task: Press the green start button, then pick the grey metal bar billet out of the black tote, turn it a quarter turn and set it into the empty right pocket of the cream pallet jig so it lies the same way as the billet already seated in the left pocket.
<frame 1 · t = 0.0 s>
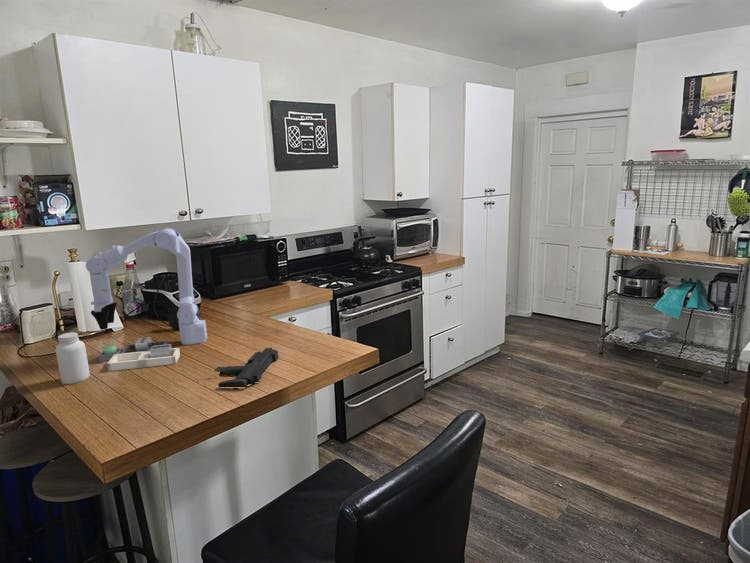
hand: (107, 325, 177), 10 cm above the worktop, tool pointing down, fingers open, 7 cm apart
rock: (185, 329, 204), on the worktop
pill bottle: (76, 380, 156), on the worktop
start button: (110, 350, 171), point 3 cm above the worktop, slide at 0.0 cm
tote: (145, 354, 176), on the worktop
billet: (144, 353, 176), resting on tote
pallet jig: (145, 365, 166), on the worktop
button housing: (111, 360, 172), on the worktop
firearm: (240, 370, 160), on the worktop
seated billet: (162, 360, 167), point 1 cm above the worktop, touching pallet jig
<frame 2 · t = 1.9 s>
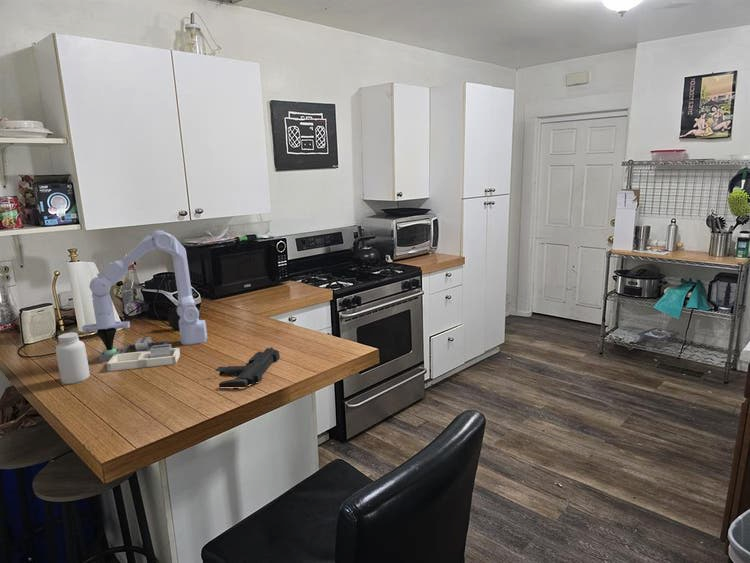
hand: (110, 349, 171), 4 cm above the worktop, tool pointing down, fingers closed, pressing on start button
start button: (110, 353, 171), point 3 cm above the worktop, slide at 0.9 cm, touching gripper
everything else where it was.
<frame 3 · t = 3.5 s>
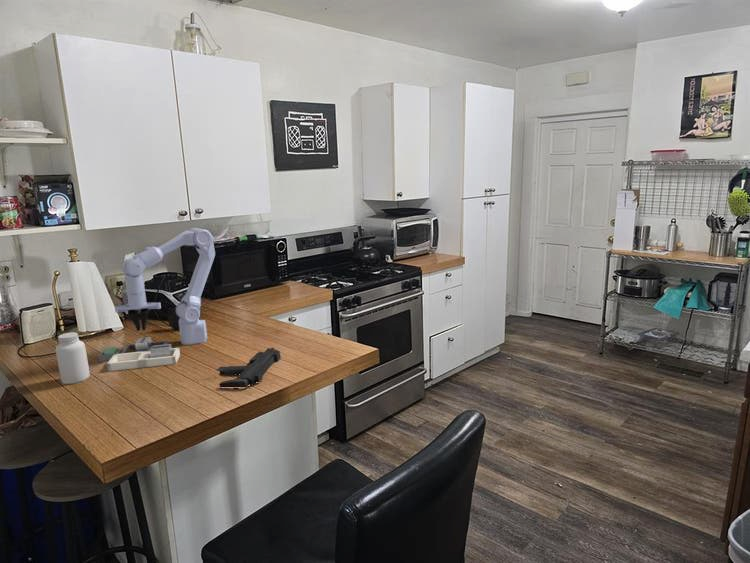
hand: (141, 329, 174), 9 cm above the worktop, tool pointing down, fingers closed
start button: (110, 353, 171), point 3 cm above the worktop, slide at 0.9 cm
everything else where it was.
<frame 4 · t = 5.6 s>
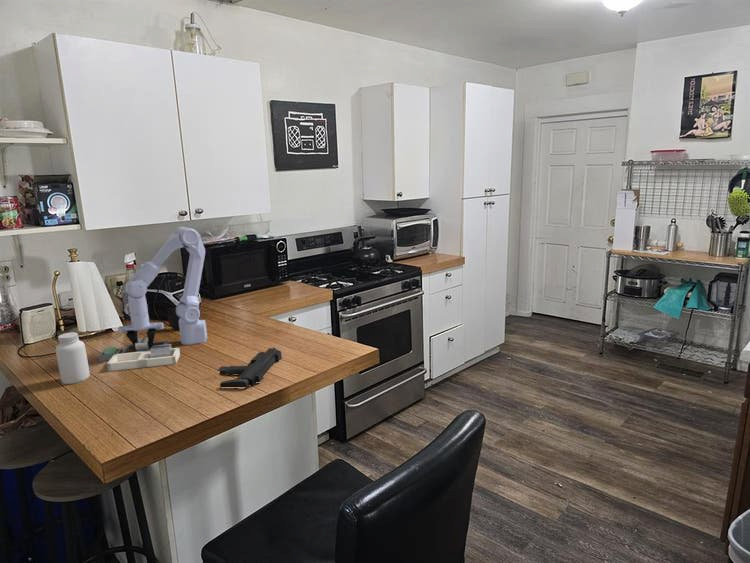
hand: (144, 349, 175), 2 cm above the worktop, tool pointing down, fingers closed on billet, 4 cm apart
billet: (144, 353, 176), resting on tote, touching gripper
everything else where it was.
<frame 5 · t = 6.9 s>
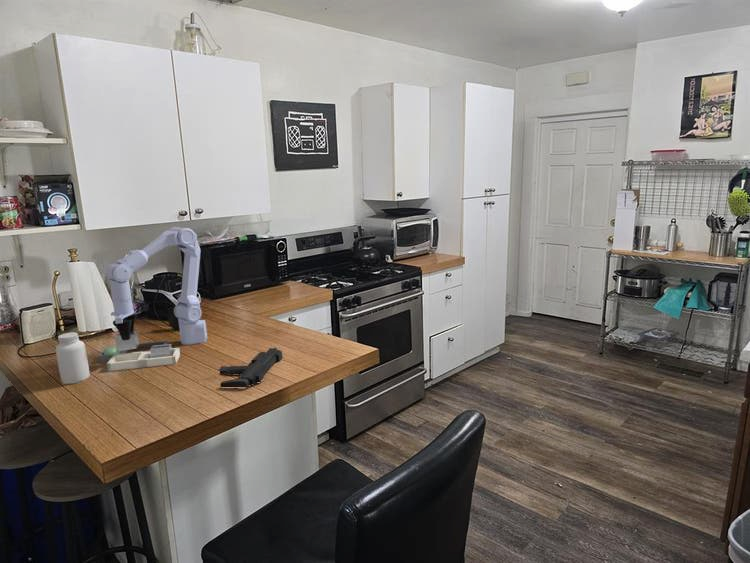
hand: (127, 337, 167), 9 cm above the worktop, tool pointing down, fingers closed on billet, 4 cm apart
billet: (128, 347, 168), point 5 cm above the worktop, touching gripper
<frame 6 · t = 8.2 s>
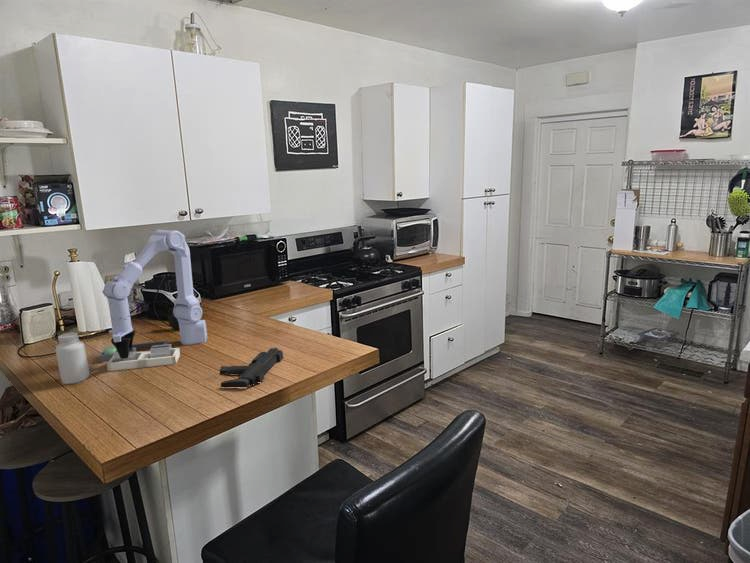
hand: (126, 355, 164), 4 cm above the worktop, tool pointing down, fingers closed on billet, 4 cm apart
billet: (127, 364, 164), point 1 cm above the worktop, touching gripper, pallet jig
when the fingers open (4 cm above the worktop, at t = 8.6 s): billet stays where it is, resting on pallet jig.
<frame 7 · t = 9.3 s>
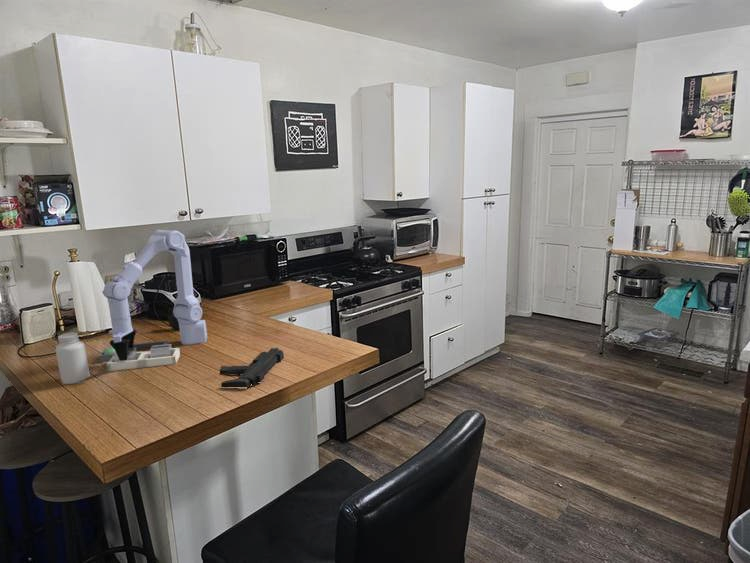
hand: (126, 355, 164), 4 cm above the worktop, tool pointing down, fingers open, 7 cm apart
billet: (127, 364, 164), point 1 cm above the worktop, touching pallet jig
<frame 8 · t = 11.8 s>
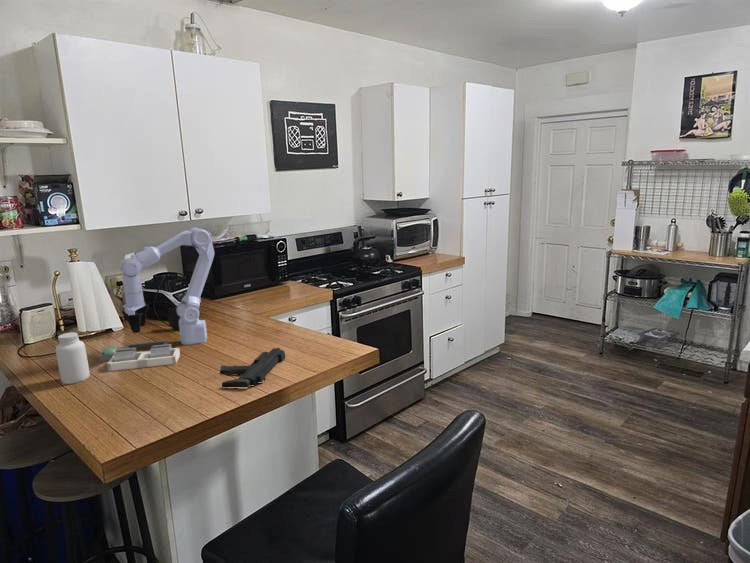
hand: (139, 329, 174), 9 cm above the worktop, tool pointing down, fingers open, 7 cm apart
at the end: billet 0.3 cm from the target spot on the pallet jig, point 1.0 cm above the pallet jig's base; billet tilted 0°; start button slide at 0.9 cm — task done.
